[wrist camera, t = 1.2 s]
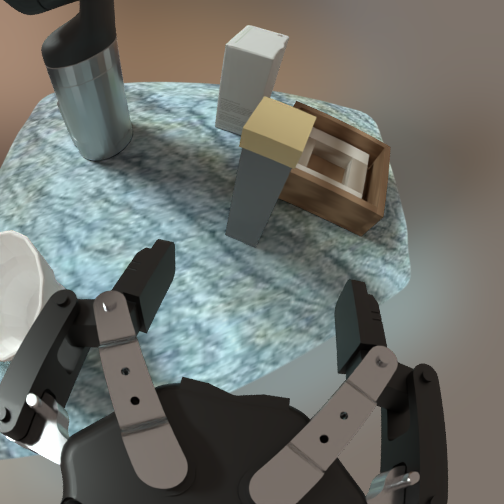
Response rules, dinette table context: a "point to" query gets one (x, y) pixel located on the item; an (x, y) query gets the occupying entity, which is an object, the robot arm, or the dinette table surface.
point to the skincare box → (248, 75)
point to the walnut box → (340, 174)
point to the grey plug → (265, 165)
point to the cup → (21, 289)
